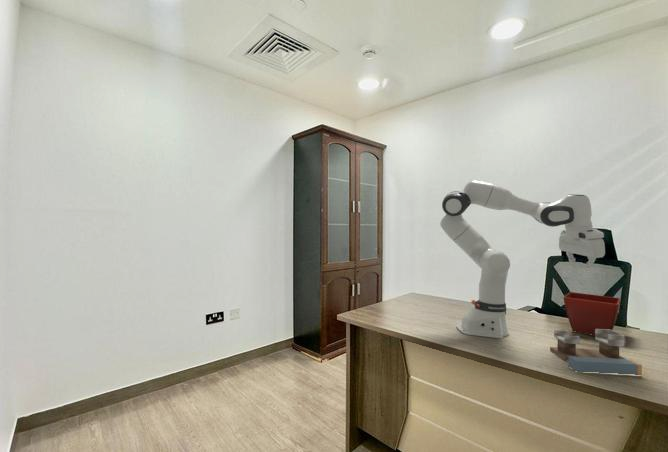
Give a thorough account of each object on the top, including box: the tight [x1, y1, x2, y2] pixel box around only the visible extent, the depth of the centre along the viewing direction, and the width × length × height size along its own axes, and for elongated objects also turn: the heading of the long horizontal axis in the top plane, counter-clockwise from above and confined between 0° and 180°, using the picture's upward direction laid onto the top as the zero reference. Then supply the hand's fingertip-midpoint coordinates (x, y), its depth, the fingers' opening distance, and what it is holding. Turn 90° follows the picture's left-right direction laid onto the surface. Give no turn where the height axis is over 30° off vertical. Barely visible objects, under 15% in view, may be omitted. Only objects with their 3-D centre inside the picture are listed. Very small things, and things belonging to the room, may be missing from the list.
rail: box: [568, 356, 643, 375], centre depth 101 cm, size 20×4×4 cm, turn 83°
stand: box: [549, 329, 626, 361], centre depth 112 cm, size 22×9×10 cm, turn 83°
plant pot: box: [563, 291, 622, 336], centre depth 141 cm, size 19×19×17 cm
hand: (580, 264), depth 124 cm, fingers open, 8 cm apart
